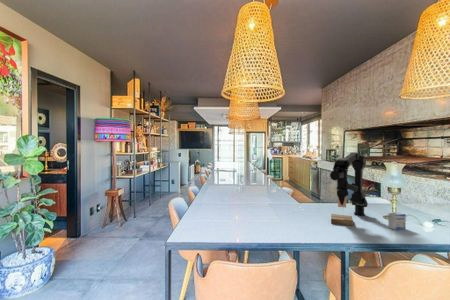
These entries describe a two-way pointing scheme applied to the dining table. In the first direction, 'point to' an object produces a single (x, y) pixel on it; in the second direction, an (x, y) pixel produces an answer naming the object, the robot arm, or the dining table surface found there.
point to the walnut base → (341, 219)
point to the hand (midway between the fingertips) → (341, 203)
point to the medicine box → (397, 221)
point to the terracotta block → (343, 203)
